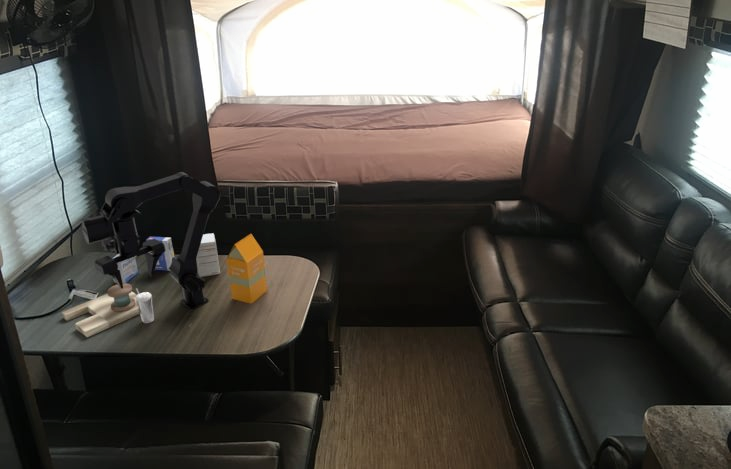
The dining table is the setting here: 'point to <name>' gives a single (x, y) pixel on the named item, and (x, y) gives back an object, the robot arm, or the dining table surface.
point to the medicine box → (127, 269)
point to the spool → (121, 298)
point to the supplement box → (208, 256)
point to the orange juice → (247, 270)
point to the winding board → (99, 314)
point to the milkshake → (145, 306)
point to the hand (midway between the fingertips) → (136, 282)
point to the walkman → (167, 256)
